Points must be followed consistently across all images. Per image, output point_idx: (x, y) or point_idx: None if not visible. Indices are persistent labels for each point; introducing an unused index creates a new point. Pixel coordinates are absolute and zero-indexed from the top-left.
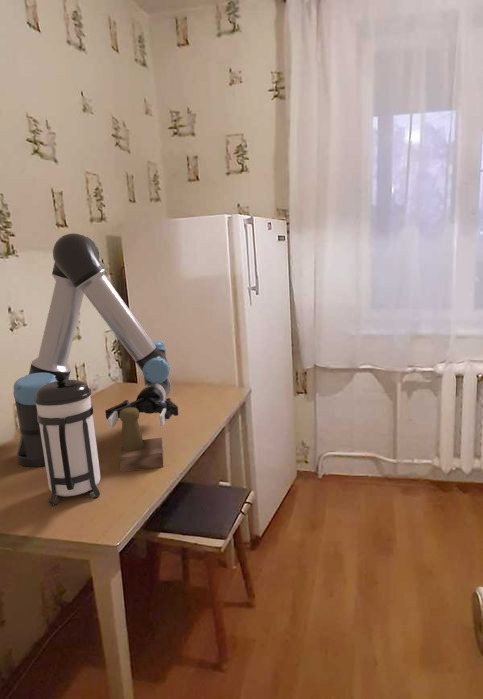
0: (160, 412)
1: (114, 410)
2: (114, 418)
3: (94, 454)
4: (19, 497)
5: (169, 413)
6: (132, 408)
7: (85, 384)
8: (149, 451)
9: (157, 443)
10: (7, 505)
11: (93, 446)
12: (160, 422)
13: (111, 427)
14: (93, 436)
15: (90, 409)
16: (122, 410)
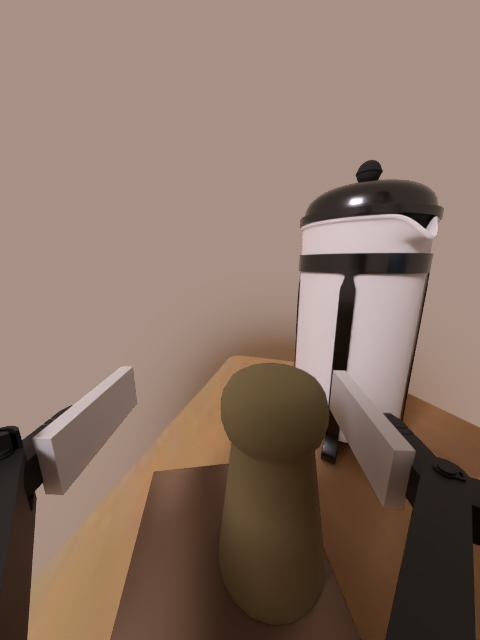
0: (27, 594)
1: (436, 469)
2: (352, 416)
3: (296, 349)
4: (438, 419)
5: (53, 418)
6: (253, 375)
7: (318, 197)
8: (194, 486)
9: (148, 579)
10: (426, 403)
11: (297, 334)
12: (133, 390)
13: (331, 404)
14: (299, 317)
15: (300, 257)
16: (303, 371)
